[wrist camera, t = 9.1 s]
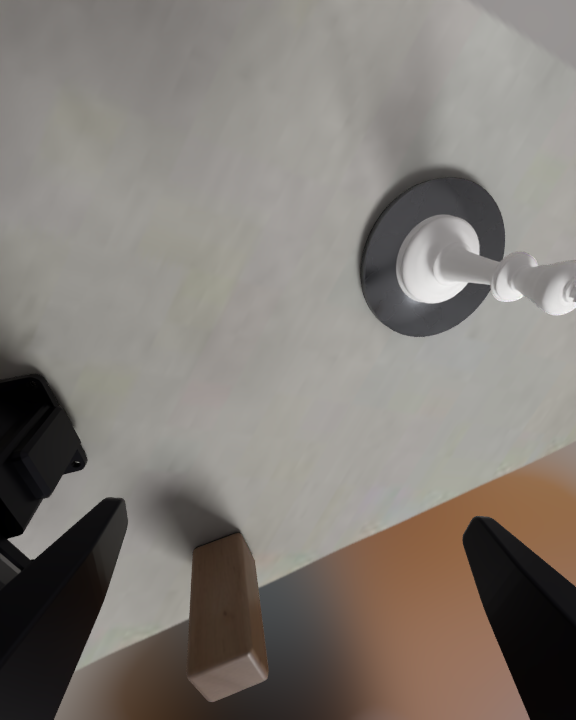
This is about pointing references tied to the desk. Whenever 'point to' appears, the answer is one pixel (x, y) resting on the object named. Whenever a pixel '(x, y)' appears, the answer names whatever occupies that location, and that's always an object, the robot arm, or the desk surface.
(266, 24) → the desk surface
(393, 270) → the carrier plate
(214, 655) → the wooden block
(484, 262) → the chess piece
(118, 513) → the robot arm
